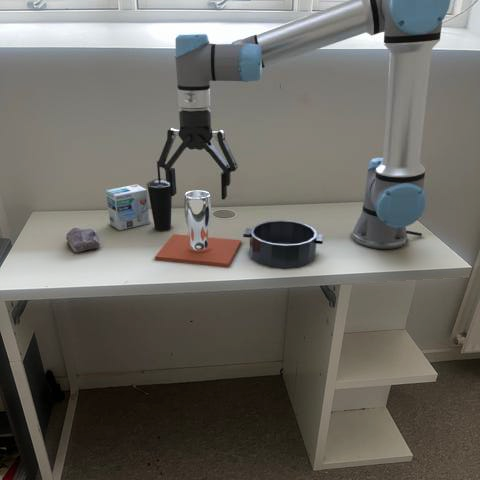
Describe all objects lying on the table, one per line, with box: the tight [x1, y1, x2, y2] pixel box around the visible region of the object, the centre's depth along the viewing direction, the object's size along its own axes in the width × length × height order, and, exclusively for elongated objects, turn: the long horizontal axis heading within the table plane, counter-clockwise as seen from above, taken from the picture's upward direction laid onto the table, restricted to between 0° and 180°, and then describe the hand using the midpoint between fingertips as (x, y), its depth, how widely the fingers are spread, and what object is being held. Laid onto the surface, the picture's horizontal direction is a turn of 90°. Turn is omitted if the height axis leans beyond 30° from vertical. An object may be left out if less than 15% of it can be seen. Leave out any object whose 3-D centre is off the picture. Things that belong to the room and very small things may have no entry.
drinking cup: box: [146, 160, 173, 232], centre depth 148 cm, size 8×8×20 cm
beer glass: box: [184, 190, 212, 252], centre depth 134 cm, size 7×7×15 cm
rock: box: [65, 227, 101, 254], centre depth 140 cm, size 8×11×5 cm
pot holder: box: [154, 233, 242, 268], centre depth 139 cm, size 20×16×1 cm
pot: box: [242, 219, 325, 270], centre depth 136 cm, size 21×18×6 cm
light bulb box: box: [105, 183, 150, 231], centre depth 153 cm, size 11×7×11 cm, turn 128°
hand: (198, 196), depth 131 cm, fingers open, 13 cm apart
